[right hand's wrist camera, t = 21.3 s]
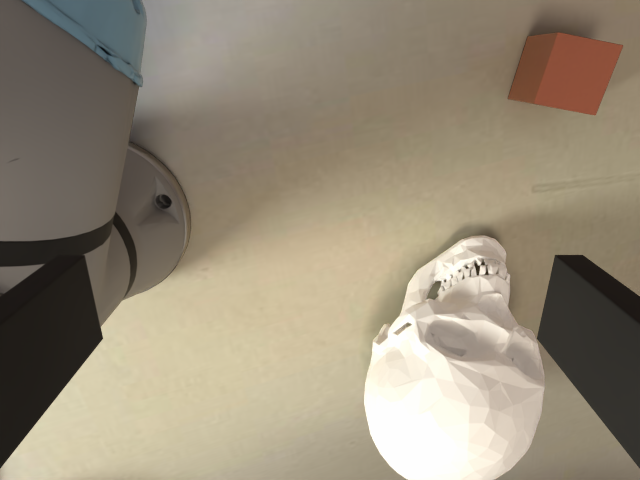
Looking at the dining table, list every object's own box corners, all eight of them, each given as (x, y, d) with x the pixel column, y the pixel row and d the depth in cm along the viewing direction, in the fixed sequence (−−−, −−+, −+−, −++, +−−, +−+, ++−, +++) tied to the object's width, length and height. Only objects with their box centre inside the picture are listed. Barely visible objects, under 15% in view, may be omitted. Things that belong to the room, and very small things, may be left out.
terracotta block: (562, 109, 38) (595, 115, 34) (507, 98, 38) (533, 103, 33) (584, 47, 36) (623, 45, 32) (527, 36, 36) (558, 32, 31)
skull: (541, 243, 43) (649, 336, 28) (457, 414, 51) (507, 556, 36) (410, 208, 42) (451, 284, 27) (346, 387, 50) (351, 522, 35)
